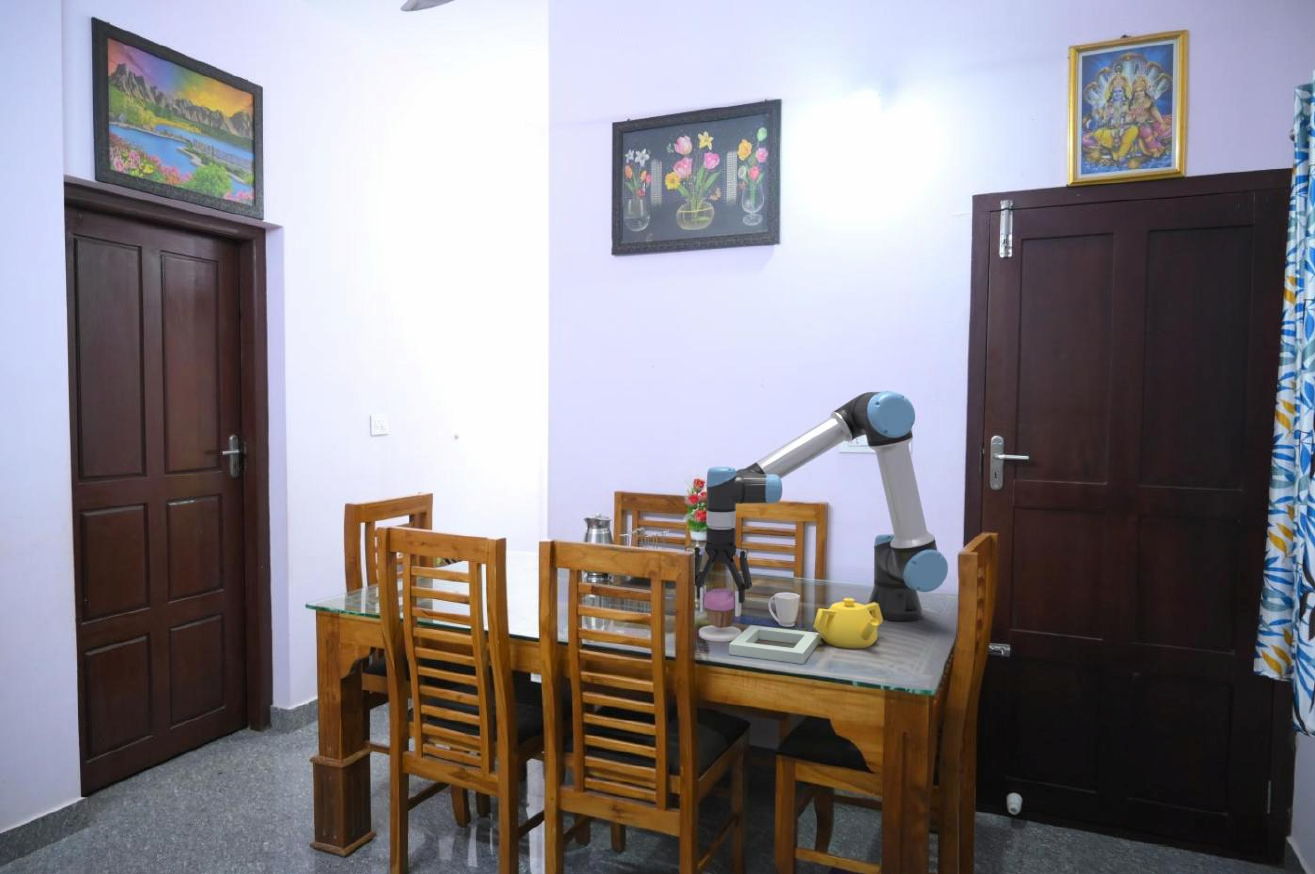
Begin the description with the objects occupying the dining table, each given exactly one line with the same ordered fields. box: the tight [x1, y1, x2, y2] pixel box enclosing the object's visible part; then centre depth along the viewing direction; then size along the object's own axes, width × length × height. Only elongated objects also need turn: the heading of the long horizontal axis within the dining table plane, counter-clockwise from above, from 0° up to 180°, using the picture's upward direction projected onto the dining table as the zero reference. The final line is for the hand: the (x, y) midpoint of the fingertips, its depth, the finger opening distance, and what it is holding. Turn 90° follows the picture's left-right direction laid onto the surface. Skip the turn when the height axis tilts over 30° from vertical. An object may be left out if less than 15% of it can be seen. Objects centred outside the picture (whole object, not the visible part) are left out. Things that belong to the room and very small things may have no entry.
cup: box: [767, 591, 801, 628], centre depth 225 cm, size 7×10×8 cm
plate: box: [698, 624, 742, 643], centre depth 213 cm, size 11×11×1 cm
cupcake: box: [703, 587, 735, 628], centre depth 213 cm, size 9×9×10 cm
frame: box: [728, 624, 820, 665], centre depth 202 cm, size 18×18×2 cm
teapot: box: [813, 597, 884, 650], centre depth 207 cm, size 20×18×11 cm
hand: (720, 613), depth 213 cm, fingers closed on cupcake, 9 cm apart
